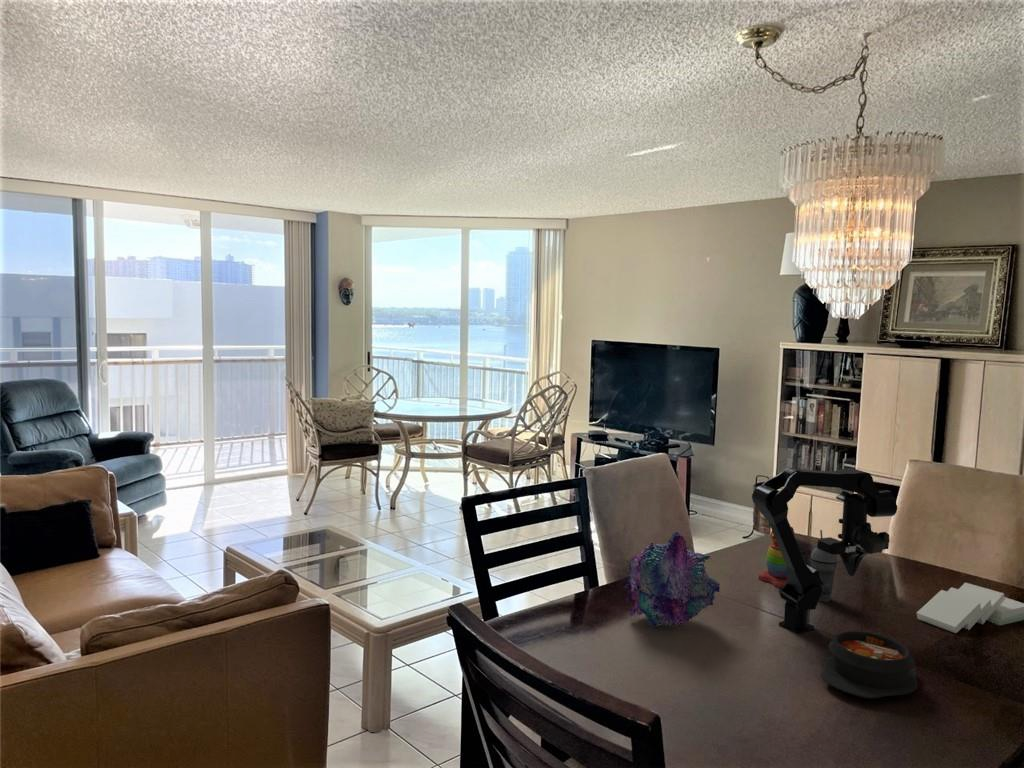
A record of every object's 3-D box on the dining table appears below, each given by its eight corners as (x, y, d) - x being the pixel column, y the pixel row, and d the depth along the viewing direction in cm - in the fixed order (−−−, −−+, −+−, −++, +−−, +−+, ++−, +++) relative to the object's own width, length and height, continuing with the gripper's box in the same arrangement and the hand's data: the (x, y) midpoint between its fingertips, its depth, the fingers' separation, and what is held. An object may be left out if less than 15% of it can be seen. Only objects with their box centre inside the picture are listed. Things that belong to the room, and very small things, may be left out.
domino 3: (981, 618, 186) (1003, 593, 191) (942, 605, 195) (965, 582, 200) (982, 624, 187) (1005, 599, 192) (943, 611, 195) (966, 588, 201)
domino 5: (999, 621, 187) (1027, 614, 192) (962, 607, 196) (990, 601, 201) (999, 628, 187) (1027, 621, 192) (962, 614, 196) (990, 608, 201)
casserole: (854, 651, 170) (856, 617, 170) (938, 682, 156) (941, 645, 155) (798, 681, 155) (800, 644, 154) (886, 718, 140) (888, 678, 140)
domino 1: (955, 627, 181) (980, 602, 186) (916, 612, 189) (941, 589, 194) (956, 633, 181) (981, 608, 186) (917, 618, 190) (942, 595, 195)
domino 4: (1002, 611, 188) (1029, 605, 193) (964, 598, 197) (991, 592, 202) (1001, 619, 188) (1028, 612, 193) (964, 605, 198) (991, 599, 203)
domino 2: (968, 623, 183) (990, 599, 188) (928, 610, 192) (951, 587, 197) (969, 630, 184) (991, 605, 189) (929, 616, 192) (952, 593, 198)
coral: (609, 628, 180) (612, 532, 178) (635, 600, 199) (638, 513, 197) (708, 650, 169) (713, 548, 167) (726, 618, 188) (730, 526, 186)
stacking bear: (755, 578, 220) (757, 522, 218) (779, 573, 224) (782, 518, 223) (781, 589, 210) (784, 531, 209) (806, 585, 214) (809, 527, 213)
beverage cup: (832, 605, 198) (836, 536, 197) (804, 599, 203) (808, 531, 201) (838, 598, 204) (842, 530, 203) (811, 592, 208) (815, 525, 207)
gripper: (850, 528, 173) (846, 590, 175) (908, 522, 179) (904, 582, 181) (817, 516, 184) (814, 574, 185) (872, 511, 190) (869, 568, 191)
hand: (851, 575), depth 185 cm, fingers closed
